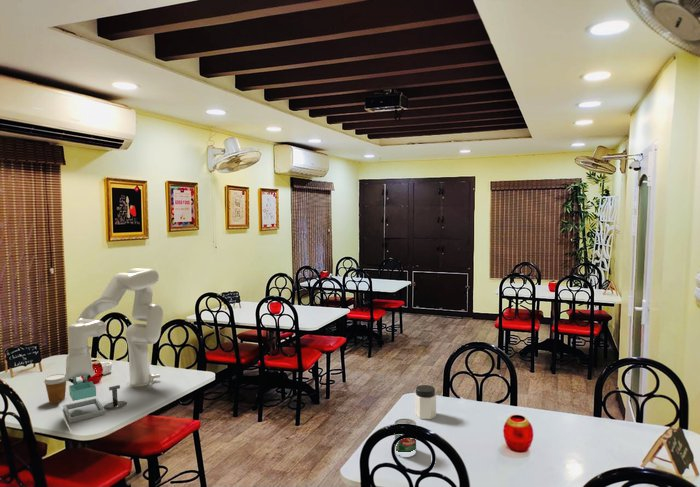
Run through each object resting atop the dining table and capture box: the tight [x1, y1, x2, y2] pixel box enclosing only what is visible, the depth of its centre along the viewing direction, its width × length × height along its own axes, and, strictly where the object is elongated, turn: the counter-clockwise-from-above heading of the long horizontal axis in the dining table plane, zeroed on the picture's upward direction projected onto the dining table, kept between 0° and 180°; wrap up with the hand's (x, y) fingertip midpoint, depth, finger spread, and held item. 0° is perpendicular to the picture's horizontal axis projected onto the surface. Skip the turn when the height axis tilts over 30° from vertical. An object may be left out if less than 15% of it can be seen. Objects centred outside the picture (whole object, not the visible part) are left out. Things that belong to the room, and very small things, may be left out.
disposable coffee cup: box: [43, 373, 67, 405], centre depth 233 cm, size 10×10×12 cm
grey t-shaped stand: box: [103, 384, 128, 411], centre depth 225 cm, size 10×10×10 cm
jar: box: [414, 384, 437, 420], centre depth 211 cm, size 9×8×12 cm
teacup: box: [100, 361, 113, 376], centre depth 271 cm, size 10×8×5 cm
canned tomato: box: [394, 418, 417, 452], centre depth 181 cm, size 8×8×11 cm
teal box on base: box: [68, 379, 97, 402], centre depth 219 cm, size 9×14×4 cm, turn 37°
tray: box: [63, 397, 106, 424], centre depth 218 cm, size 14×18×3 cm
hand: (80, 390), depth 222 cm, fingers closed on teal box on base, 2 cm apart
